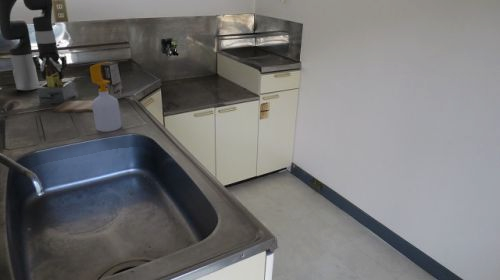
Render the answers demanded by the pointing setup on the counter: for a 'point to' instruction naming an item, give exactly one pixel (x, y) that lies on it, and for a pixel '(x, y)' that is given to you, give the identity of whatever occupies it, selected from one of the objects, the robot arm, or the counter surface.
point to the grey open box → (56, 93)
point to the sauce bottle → (52, 74)
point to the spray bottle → (104, 104)
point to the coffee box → (112, 78)
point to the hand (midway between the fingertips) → (53, 79)
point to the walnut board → (75, 106)
